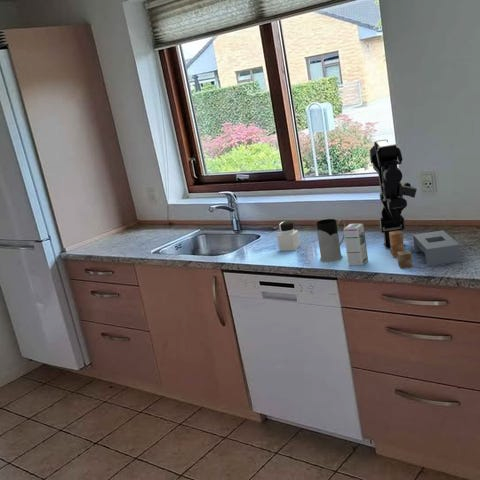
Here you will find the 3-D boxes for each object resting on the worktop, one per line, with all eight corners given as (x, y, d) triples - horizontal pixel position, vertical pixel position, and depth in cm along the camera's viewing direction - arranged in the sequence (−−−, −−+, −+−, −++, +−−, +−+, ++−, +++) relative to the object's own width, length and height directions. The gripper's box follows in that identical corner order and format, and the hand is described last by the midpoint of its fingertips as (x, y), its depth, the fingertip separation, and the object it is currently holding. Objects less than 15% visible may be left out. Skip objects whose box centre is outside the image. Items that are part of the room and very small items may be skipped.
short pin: (400, 268, 196) (399, 255, 195) (398, 265, 200) (397, 252, 198) (412, 267, 195) (411, 253, 194) (410, 263, 199) (408, 250, 198)
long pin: (393, 258, 208) (391, 234, 206) (391, 254, 212) (389, 232, 210) (404, 256, 208) (402, 233, 206) (402, 253, 212) (399, 230, 210)
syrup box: (363, 265, 206) (358, 227, 202) (347, 265, 209) (342, 227, 206) (368, 260, 210) (363, 223, 207) (353, 260, 214) (348, 223, 210)
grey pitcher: (315, 260, 222) (310, 223, 218) (340, 250, 229) (336, 214, 226) (331, 263, 215) (326, 225, 211) (356, 252, 222) (352, 215, 219)
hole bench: (428, 265, 194) (426, 249, 192) (414, 249, 213) (413, 234, 212) (460, 261, 193) (459, 244, 191) (444, 245, 212) (443, 230, 211)
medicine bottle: (300, 245, 246) (296, 219, 243) (294, 250, 240) (290, 223, 237) (285, 246, 249) (281, 220, 246) (279, 251, 243) (275, 224, 240)
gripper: (419, 180, 193) (424, 224, 197) (407, 172, 211) (411, 213, 215) (387, 185, 194) (391, 229, 198) (377, 177, 213) (381, 217, 216)
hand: (395, 221), depth 207 cm, fingers open, 9 cm apart
